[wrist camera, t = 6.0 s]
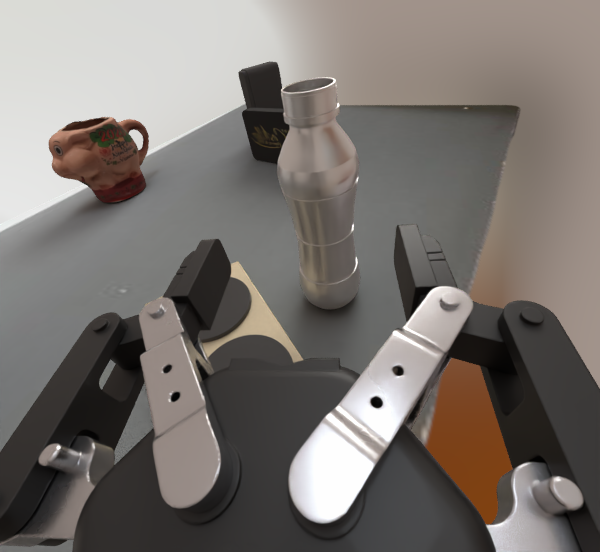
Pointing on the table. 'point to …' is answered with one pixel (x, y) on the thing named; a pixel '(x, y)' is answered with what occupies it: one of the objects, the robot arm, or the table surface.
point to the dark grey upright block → (262, 86)
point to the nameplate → (265, 132)
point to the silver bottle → (320, 191)
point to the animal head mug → (101, 156)
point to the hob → (245, 327)
